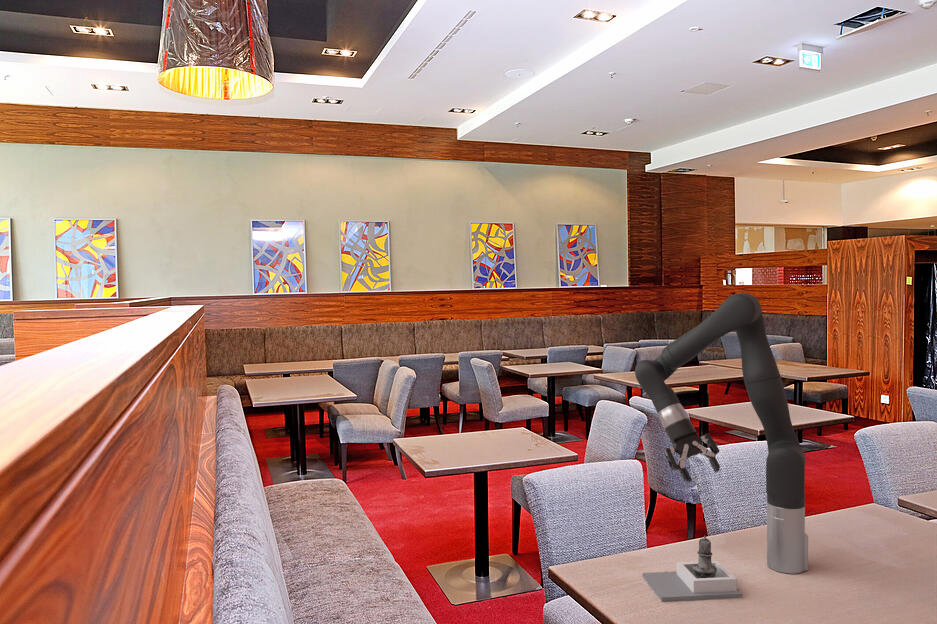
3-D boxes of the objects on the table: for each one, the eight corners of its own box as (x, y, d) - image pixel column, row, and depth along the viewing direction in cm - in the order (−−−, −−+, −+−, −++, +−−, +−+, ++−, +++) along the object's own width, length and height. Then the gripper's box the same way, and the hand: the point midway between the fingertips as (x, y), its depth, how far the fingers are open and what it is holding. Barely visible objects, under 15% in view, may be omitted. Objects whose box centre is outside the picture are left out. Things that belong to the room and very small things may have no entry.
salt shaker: (719, 587, 168) (719, 540, 167) (694, 586, 169) (694, 538, 169) (715, 577, 174) (715, 531, 173) (691, 576, 175) (691, 530, 174)
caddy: (716, 573, 179) (716, 558, 178) (741, 597, 165) (741, 581, 165) (642, 576, 177) (642, 561, 177) (661, 601, 163) (661, 585, 163)
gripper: (657, 427, 189) (684, 482, 182) (702, 410, 191) (731, 464, 184) (650, 434, 195) (676, 488, 189) (694, 418, 197) (722, 471, 191)
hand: (703, 476), depth 186 cm, fingers open, 8 cm apart
